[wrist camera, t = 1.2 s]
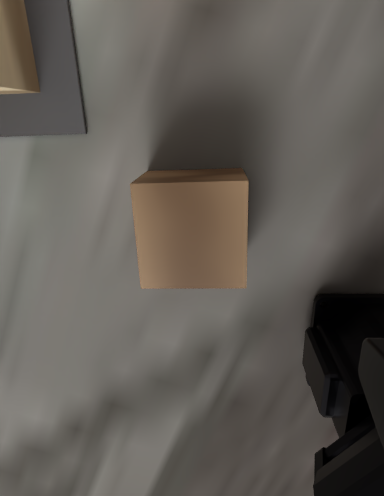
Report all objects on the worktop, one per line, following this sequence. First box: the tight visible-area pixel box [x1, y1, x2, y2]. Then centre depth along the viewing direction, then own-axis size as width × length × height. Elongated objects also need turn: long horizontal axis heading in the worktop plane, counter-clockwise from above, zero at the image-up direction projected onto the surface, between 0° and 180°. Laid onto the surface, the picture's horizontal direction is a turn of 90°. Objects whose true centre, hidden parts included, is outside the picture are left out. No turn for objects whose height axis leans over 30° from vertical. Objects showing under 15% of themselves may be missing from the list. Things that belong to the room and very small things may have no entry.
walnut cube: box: [130, 168, 248, 289], centre depth 17 cm, size 5×5×4 cm
